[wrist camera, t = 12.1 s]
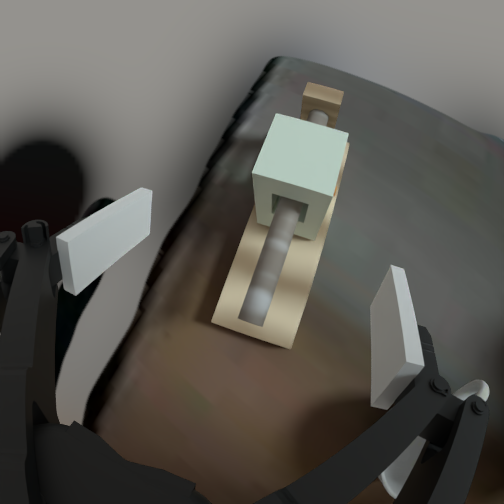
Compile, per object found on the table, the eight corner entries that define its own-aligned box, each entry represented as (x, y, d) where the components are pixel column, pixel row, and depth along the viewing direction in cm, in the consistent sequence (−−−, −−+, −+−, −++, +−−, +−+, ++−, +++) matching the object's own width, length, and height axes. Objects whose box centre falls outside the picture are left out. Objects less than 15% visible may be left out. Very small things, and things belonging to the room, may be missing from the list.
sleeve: (314, 240, 31) (332, 196, 21) (257, 222, 32) (251, 172, 22) (328, 189, 33) (348, 133, 23) (275, 173, 33) (276, 113, 24)
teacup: (381, 492, 25) (406, 523, 17) (341, 426, 28) (362, 450, 20) (473, 420, 26) (513, 431, 19) (442, 352, 29) (483, 351, 22)
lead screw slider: (289, 348, 31) (298, 352, 21) (214, 323, 32) (189, 314, 22) (346, 152, 36) (366, 95, 26) (284, 134, 38) (287, 73, 28)
